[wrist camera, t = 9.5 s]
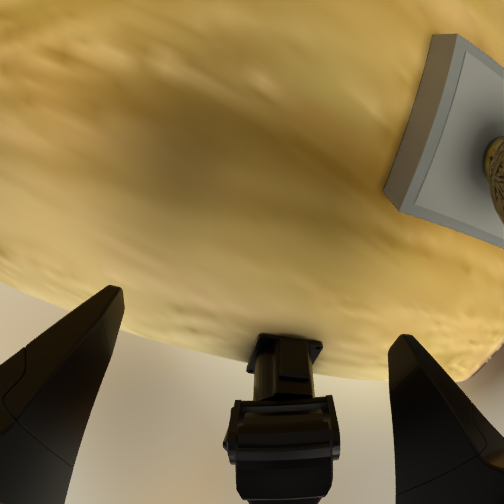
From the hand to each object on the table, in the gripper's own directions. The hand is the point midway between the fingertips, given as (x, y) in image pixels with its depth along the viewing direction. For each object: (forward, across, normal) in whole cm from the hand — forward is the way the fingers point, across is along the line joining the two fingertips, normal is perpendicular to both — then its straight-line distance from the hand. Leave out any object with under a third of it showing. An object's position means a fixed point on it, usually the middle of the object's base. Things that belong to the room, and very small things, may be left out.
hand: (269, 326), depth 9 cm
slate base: (+12, -14, -7) cm, 20 cm away
